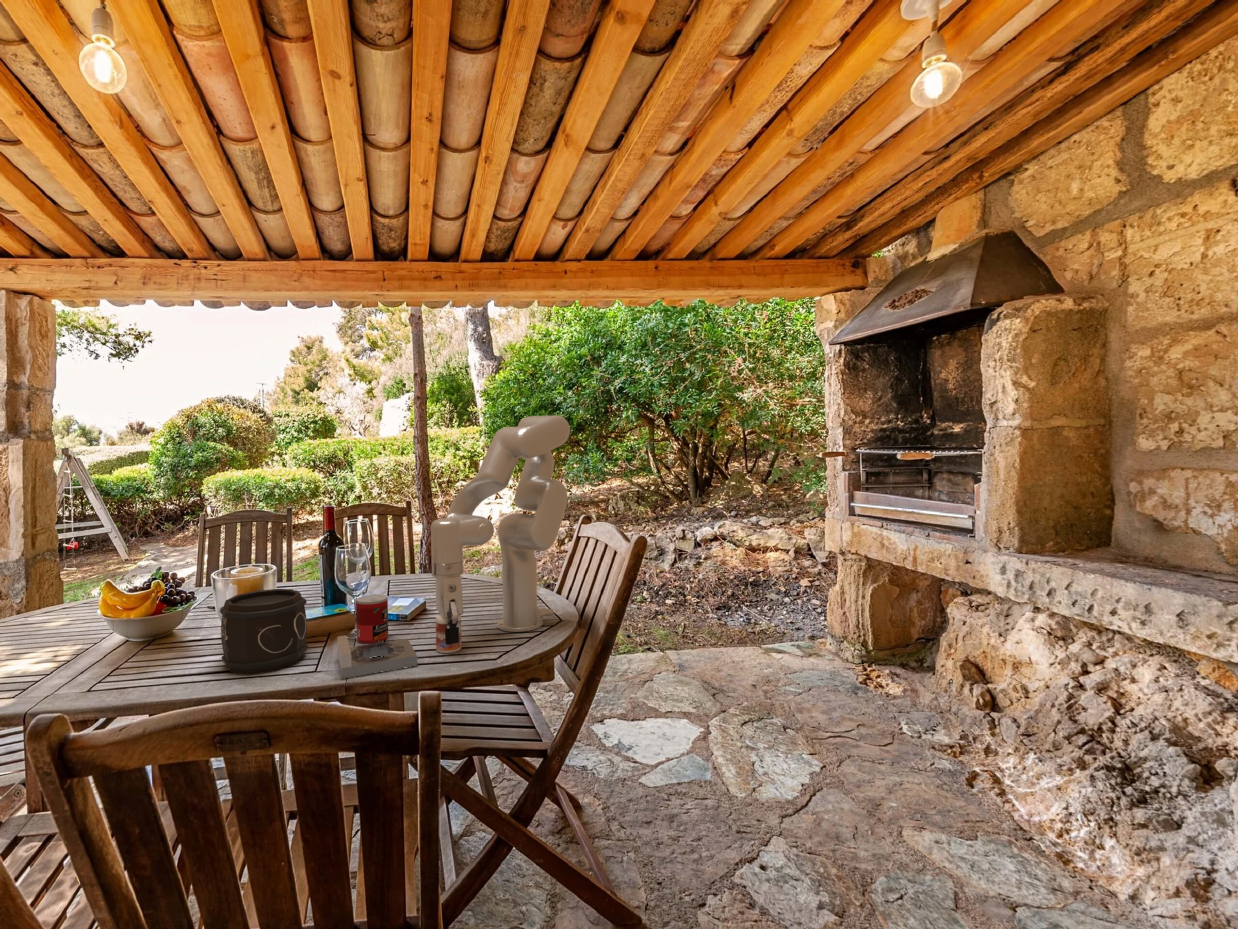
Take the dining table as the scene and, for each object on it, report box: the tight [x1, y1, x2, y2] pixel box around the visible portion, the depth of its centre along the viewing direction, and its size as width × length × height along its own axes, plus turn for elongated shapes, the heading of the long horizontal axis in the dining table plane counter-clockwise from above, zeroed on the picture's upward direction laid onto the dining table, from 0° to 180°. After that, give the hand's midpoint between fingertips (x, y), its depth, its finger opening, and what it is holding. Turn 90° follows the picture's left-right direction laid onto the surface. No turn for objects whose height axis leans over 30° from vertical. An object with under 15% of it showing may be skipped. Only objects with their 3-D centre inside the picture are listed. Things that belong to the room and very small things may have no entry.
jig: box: [337, 635, 418, 680], centre depth 144 cm, size 16×14×6 cm
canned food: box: [355, 594, 389, 644], centre depth 161 cm, size 8×8×11 cm
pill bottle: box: [435, 606, 463, 654], centre depth 153 cm, size 6×6×11 cm
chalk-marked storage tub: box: [219, 588, 309, 675], centre depth 146 cm, size 18×18×16 cm
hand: (448, 638), depth 153 cm, fingers open, 6 cm apart
